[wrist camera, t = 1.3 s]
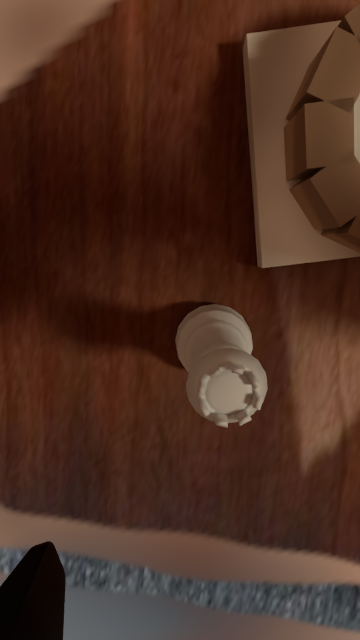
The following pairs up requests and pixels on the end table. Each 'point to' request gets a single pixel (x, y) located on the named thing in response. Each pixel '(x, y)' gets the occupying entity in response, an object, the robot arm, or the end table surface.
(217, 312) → the rook chess piece
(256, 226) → the ring board
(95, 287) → the end table surface
